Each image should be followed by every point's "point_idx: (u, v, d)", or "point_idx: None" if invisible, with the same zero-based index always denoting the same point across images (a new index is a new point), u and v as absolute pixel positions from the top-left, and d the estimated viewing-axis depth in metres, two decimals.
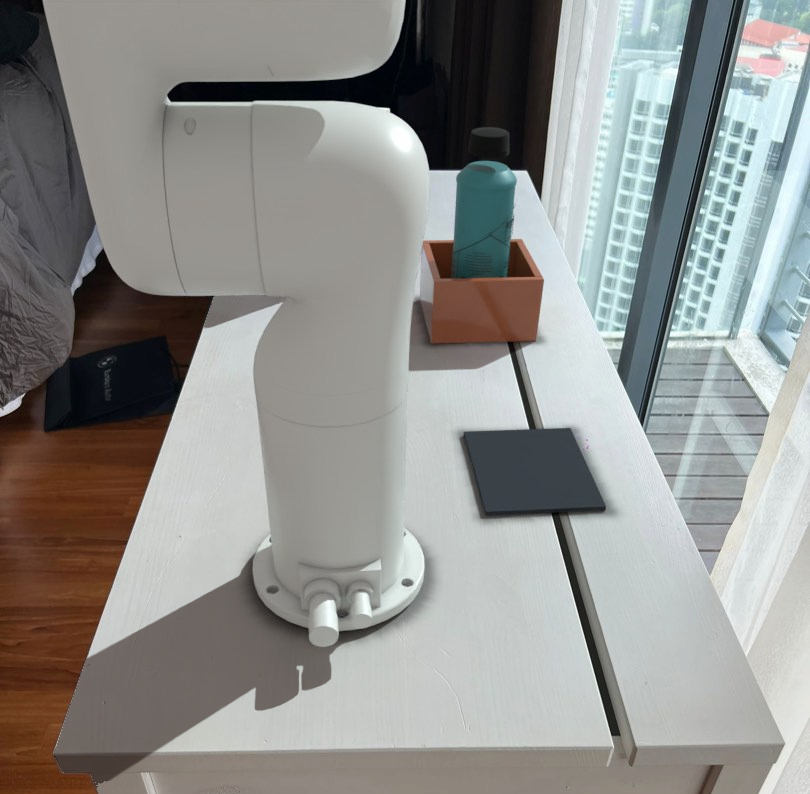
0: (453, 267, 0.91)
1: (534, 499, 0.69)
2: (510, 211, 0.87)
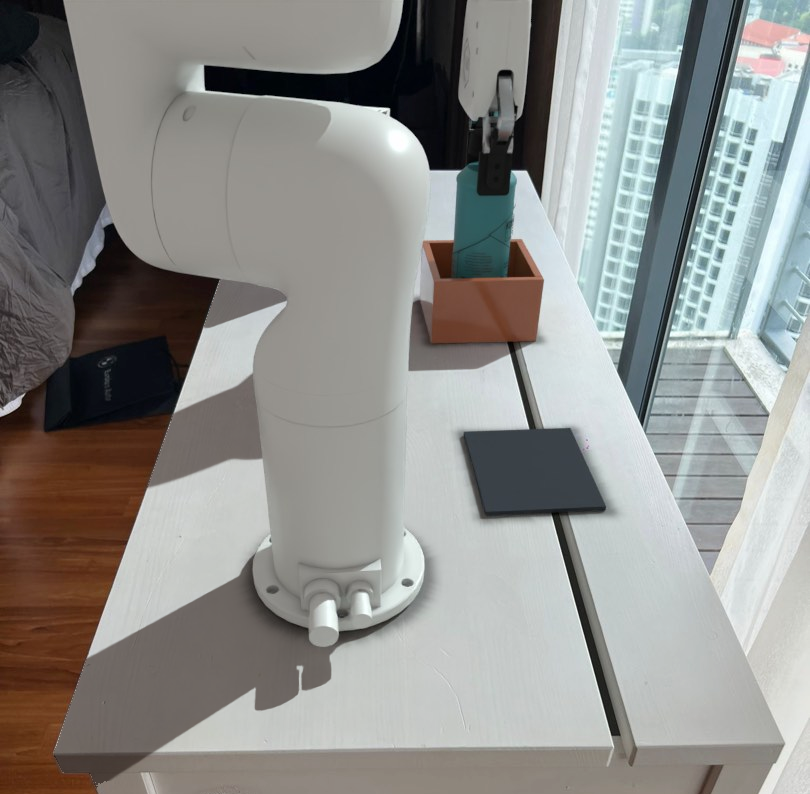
0: (453, 267, 0.91)
1: (534, 499, 0.69)
2: (510, 211, 0.87)
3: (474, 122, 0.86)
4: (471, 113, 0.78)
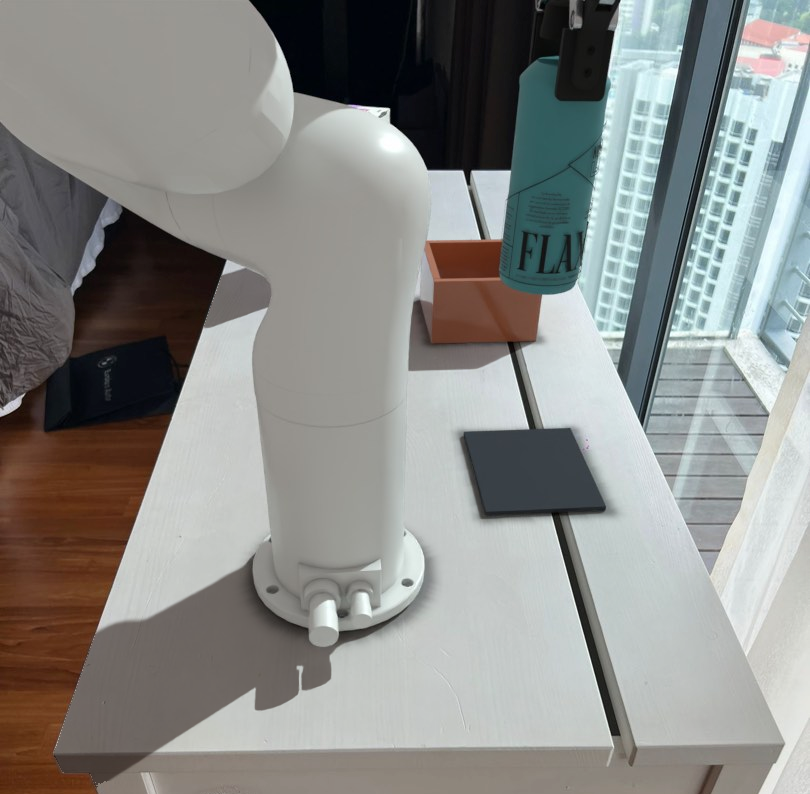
0: (509, 218, 0.62)
1: (534, 499, 0.69)
2: (600, 131, 0.58)
3: None
4: None
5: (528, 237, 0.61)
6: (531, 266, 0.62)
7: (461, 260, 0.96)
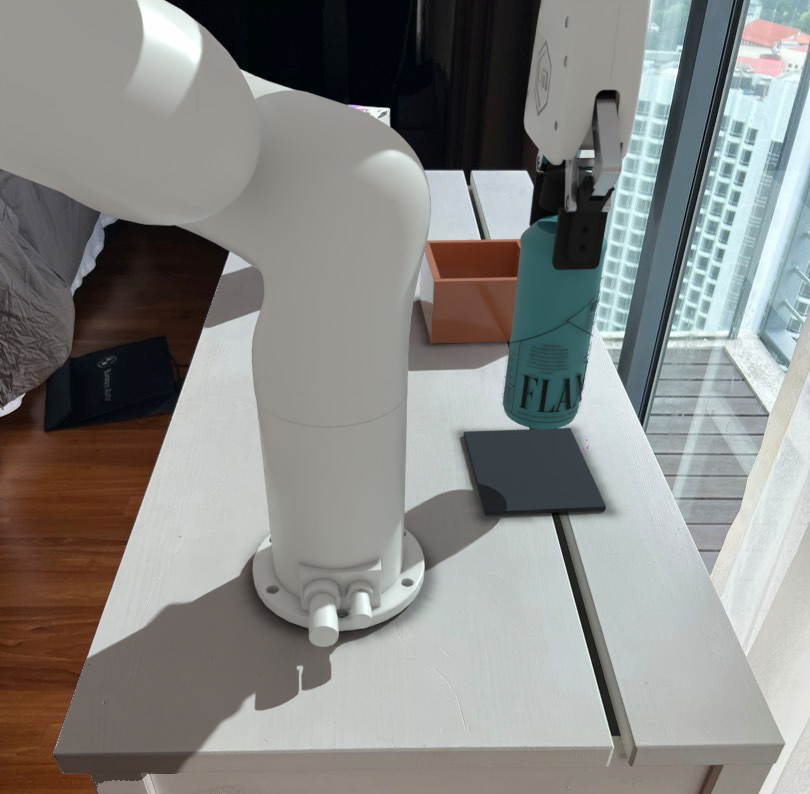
0: (511, 360, 0.65)
1: (534, 499, 0.69)
2: (597, 287, 0.61)
3: (545, 161, 0.60)
4: (551, 154, 0.52)
5: (529, 380, 0.64)
6: (532, 405, 0.65)
7: (461, 260, 0.96)
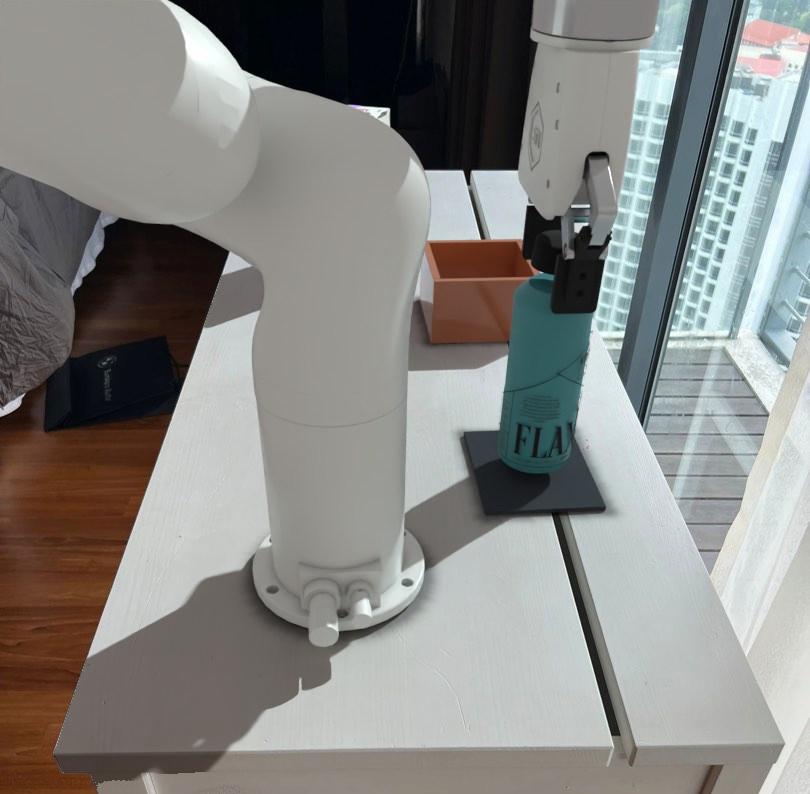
0: (505, 408, 0.68)
1: (534, 499, 0.69)
2: (586, 341, 0.63)
3: None
4: (544, 210, 0.54)
5: (522, 428, 0.67)
6: (525, 451, 0.68)
7: (461, 260, 0.96)
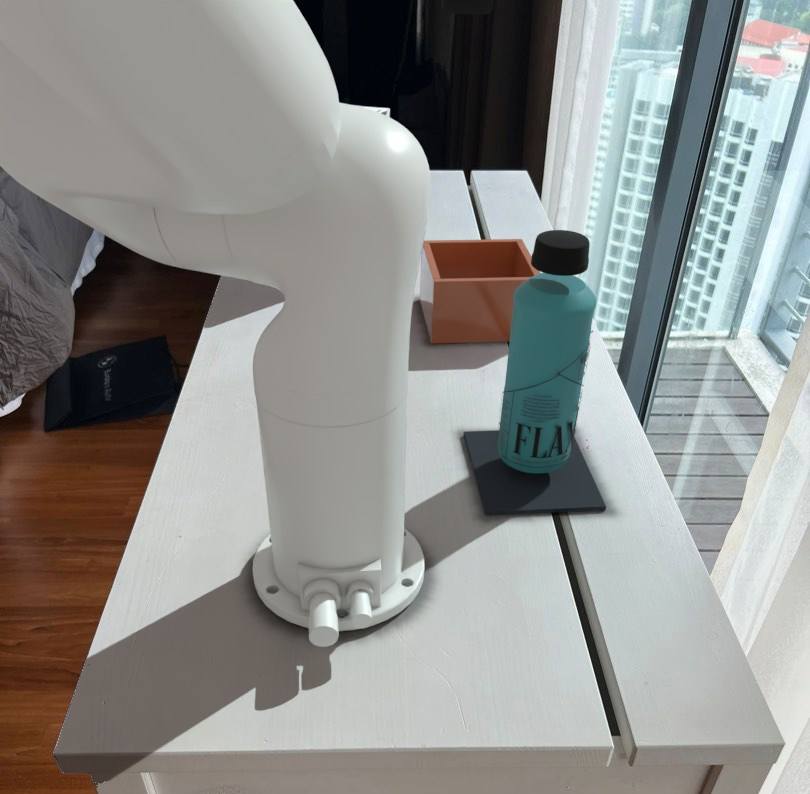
0: (505, 408, 0.68)
1: (534, 499, 0.69)
2: (586, 341, 0.63)
3: None
4: None
5: (522, 428, 0.67)
6: (525, 451, 0.68)
7: (461, 260, 0.96)
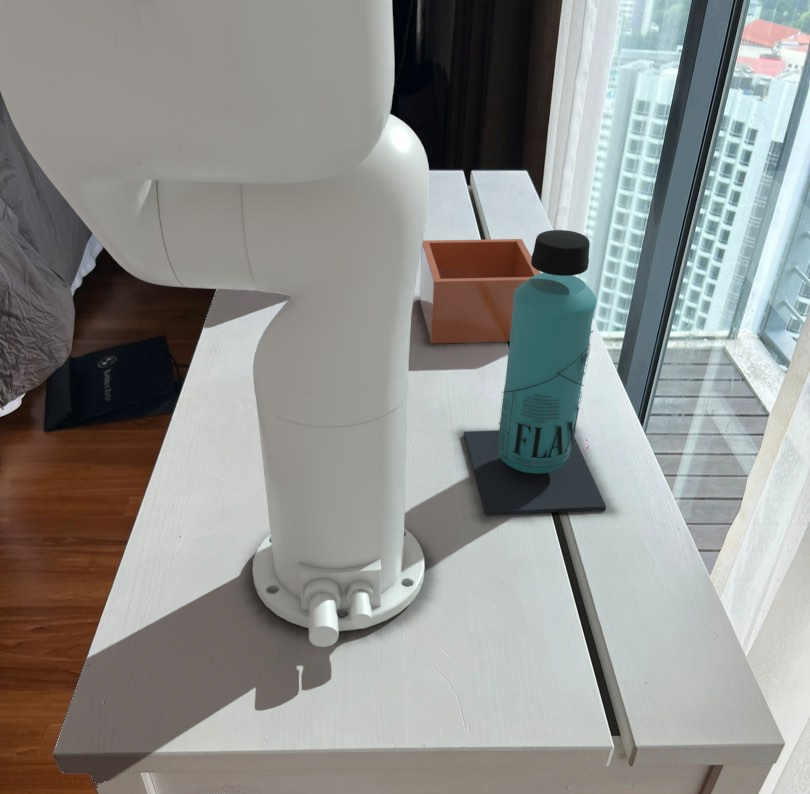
0: (505, 408, 0.68)
1: (534, 499, 0.69)
2: (587, 341, 0.63)
3: None
4: None
5: (522, 428, 0.67)
6: (525, 451, 0.68)
7: (461, 260, 0.96)
